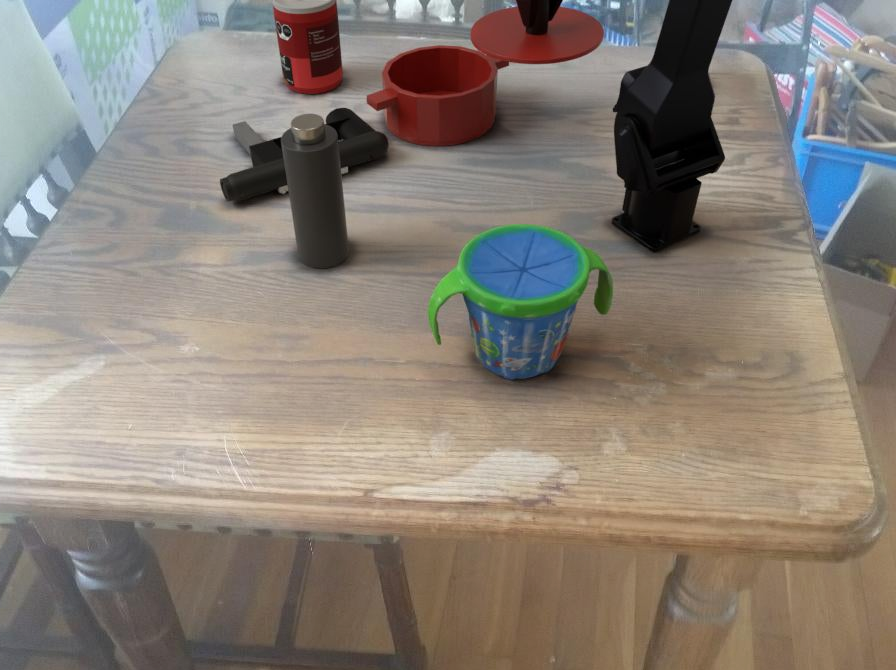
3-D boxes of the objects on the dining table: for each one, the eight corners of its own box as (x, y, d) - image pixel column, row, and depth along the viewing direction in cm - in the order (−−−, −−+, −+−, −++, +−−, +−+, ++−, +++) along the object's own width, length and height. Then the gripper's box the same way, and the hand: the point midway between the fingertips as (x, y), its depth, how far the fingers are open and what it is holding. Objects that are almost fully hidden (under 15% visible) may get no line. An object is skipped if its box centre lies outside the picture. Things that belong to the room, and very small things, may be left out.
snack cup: (436, 405, 73) (436, 312, 65) (421, 323, 80) (419, 232, 72) (619, 386, 73) (639, 292, 66) (588, 306, 80) (602, 214, 73)
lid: (631, 44, 93) (639, -15, 88) (525, 83, 88) (528, 22, 84) (545, 4, 102) (549, -52, 97) (444, 37, 97) (444, -20, 92)
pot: (534, 116, 105) (538, 68, 101) (404, 165, 99) (402, 116, 94) (470, 76, 113) (471, 30, 109) (346, 118, 107) (342, 72, 103)
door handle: (184, 131, 102) (228, 188, 91) (337, 88, 107) (396, 137, 97) (190, 157, 104) (234, 216, 93) (340, 114, 110) (398, 164, 99)
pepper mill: (358, 256, 87) (346, 124, 77) (313, 275, 86) (294, 142, 75) (333, 232, 91) (318, 101, 80) (289, 249, 89) (268, 118, 78)
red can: (290, 68, 117) (279, -17, 109) (348, 68, 116) (341, -17, 108) (277, 94, 112) (265, 8, 104) (338, 96, 111) (330, 8, 103)
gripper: (569, -176, 90) (556, -19, 102) (420, -140, 84) (424, 23, 95) (645, -156, 84) (622, 9, 95) (489, -116, 77) (485, 57, 88)
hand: (537, 23), depth 93 cm, fingers closed on lid, 2 cm apart
